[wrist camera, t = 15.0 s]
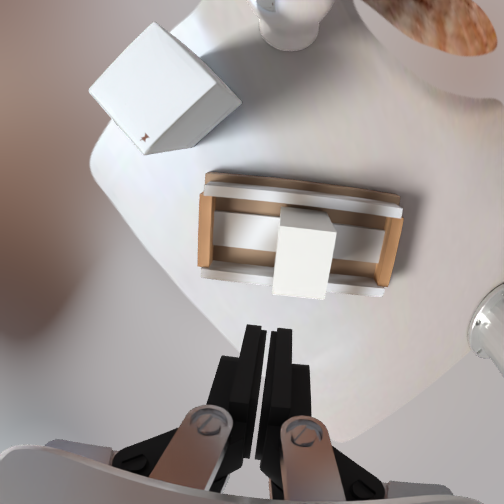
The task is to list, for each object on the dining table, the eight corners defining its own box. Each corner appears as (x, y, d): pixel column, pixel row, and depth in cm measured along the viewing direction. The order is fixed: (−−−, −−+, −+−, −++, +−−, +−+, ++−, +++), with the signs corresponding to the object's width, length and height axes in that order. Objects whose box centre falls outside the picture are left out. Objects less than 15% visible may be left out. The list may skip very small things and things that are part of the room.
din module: (326, 211, 32) (336, 232, 25) (317, 268, 34) (323, 301, 27) (281, 206, 32) (279, 225, 25) (274, 264, 34) (271, 295, 27)
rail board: (395, 194, 32) (408, 201, 28) (376, 287, 36) (385, 303, 32) (208, 171, 33) (199, 176, 30) (204, 268, 37) (196, 283, 33)
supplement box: (245, 103, 30) (221, 84, 19) (191, 149, 33) (141, 159, 21) (199, 54, 29) (154, 17, 17) (149, 101, 31) (84, 91, 19)
